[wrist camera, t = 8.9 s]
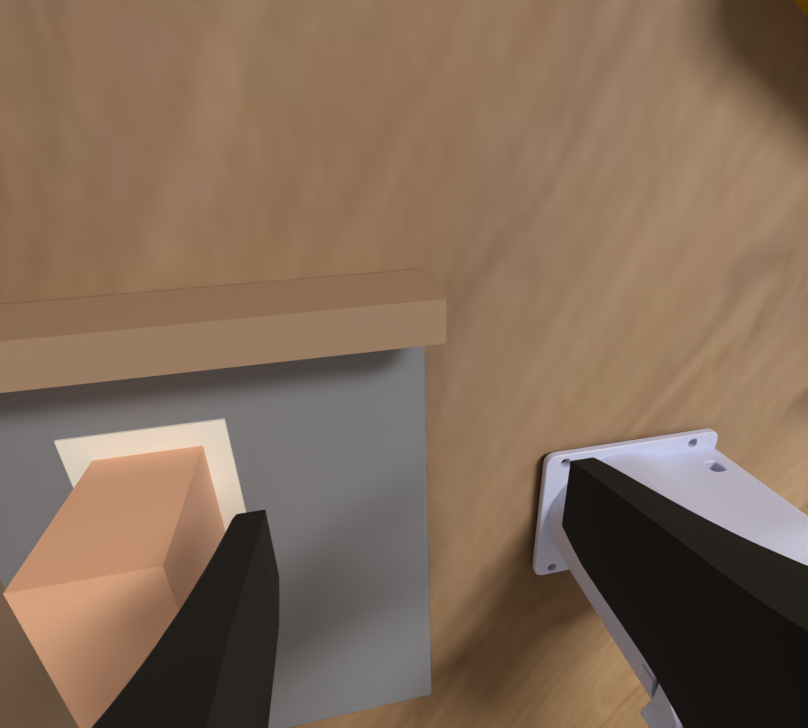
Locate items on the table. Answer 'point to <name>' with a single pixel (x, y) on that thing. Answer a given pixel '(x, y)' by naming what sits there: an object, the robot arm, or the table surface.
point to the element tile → (802, 5)
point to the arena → (244, 459)
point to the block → (116, 571)
